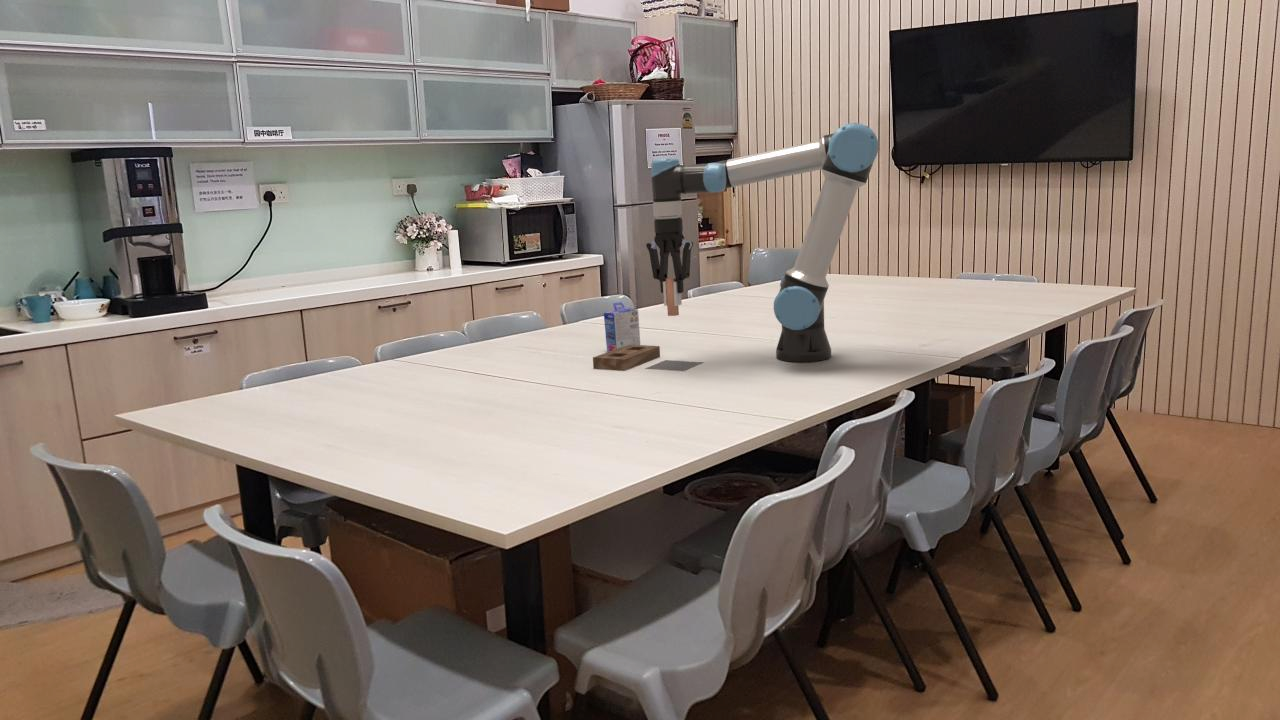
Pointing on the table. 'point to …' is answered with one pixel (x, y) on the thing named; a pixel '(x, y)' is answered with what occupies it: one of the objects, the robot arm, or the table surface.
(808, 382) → the table surface
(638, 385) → the table surface
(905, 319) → the table surface
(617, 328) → the ink cartridge box
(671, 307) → the peg
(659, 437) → the table surface
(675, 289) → the robot arm
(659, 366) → the mat
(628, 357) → the socket block
